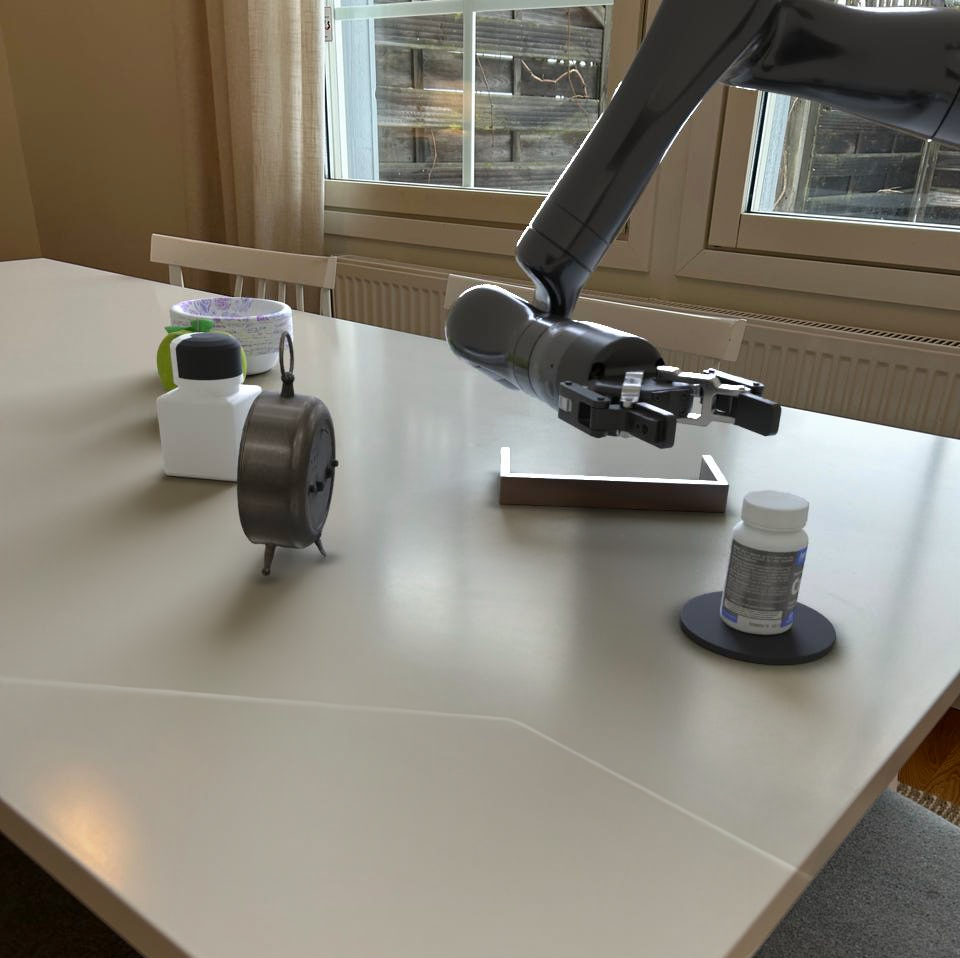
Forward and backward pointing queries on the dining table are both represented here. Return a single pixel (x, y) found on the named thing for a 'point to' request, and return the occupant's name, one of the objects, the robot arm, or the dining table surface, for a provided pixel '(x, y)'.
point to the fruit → (165, 355)
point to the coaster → (793, 646)
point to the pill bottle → (765, 563)
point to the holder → (616, 490)
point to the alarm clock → (286, 467)
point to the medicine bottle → (204, 407)
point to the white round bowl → (242, 325)
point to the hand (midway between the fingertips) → (725, 427)
